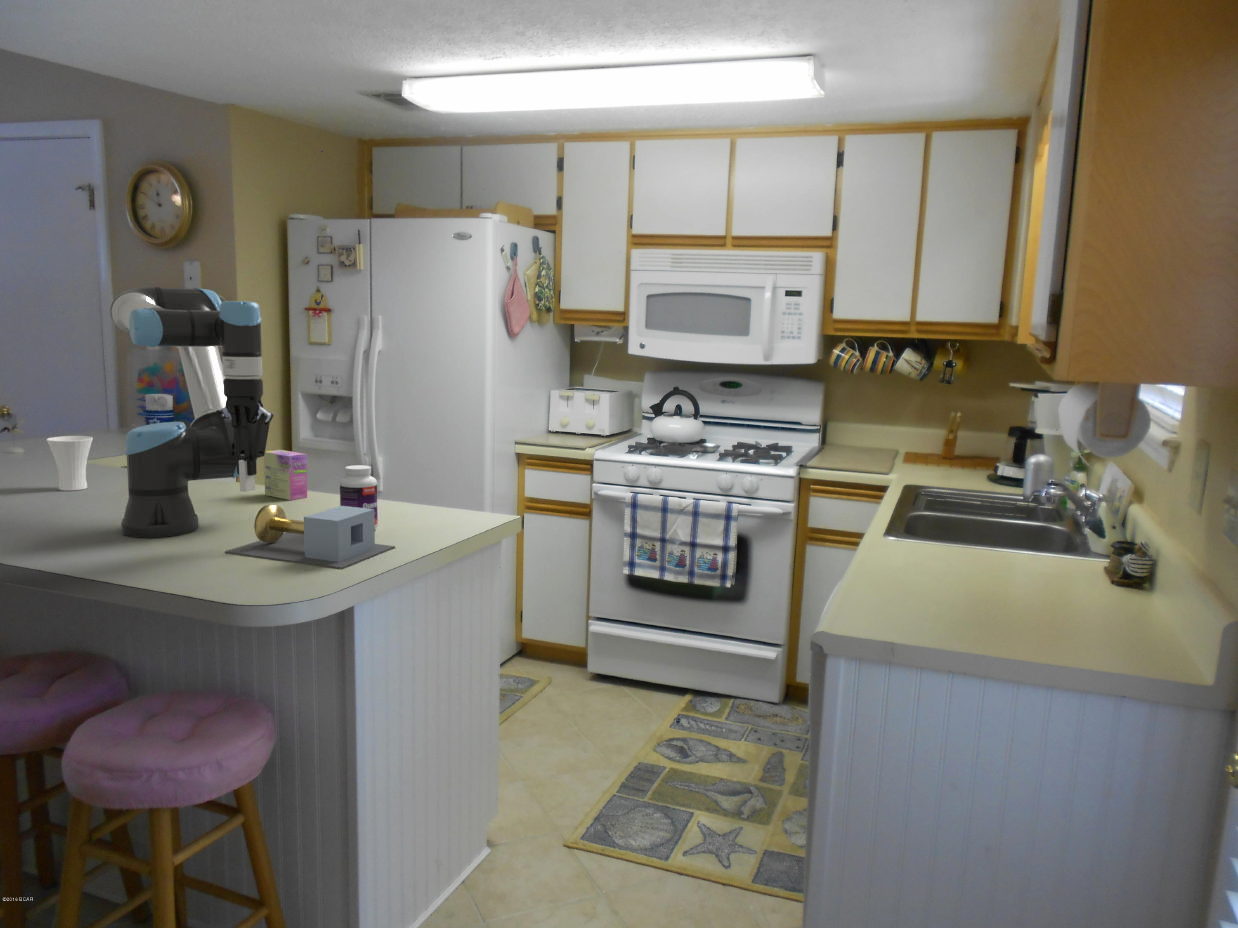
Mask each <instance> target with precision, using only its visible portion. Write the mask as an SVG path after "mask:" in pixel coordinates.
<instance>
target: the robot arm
mask: <svg viewBox="0 0 1238 928" xmlns="http://www.w3.org/2000/svg"><path fill="white" fill-rule="evenodd" d="M260 311H261V310H260V305H259V304H258V302H255V301H247V300H246V301H240V300H224V301H221V298H220V297H219V295H218V294H217V293H216V291H213V290H211V289H205V288H201V287H192V288H185V287H184V288H181V287H165V286H164V287H163V286H162V287H161V286H140V287H134V288H131V289H127V290H125V291H122V292H121V293H119V294H118V295H117V296H115V298H113V300H112V302H111V303H110V308H109V314H110V317H111V318H110V319H111V320H112V322H113V324H114V325H115V326H116V327H117V328H119V330H121V331H123V332H125V333H127V334H129V335H130V339H131V342H132V344H133V345H135V346H139V347H149V348H154V347H175V348H176V349H178V353H179V357H180V361H181V365H182V369H183V374H184V377H185V382H186V387H187V391H188V394H189V398H190V403H191V404H190V405H191V408H192V411H193V415H194V420H192V422H191V423H190V426H189V427H187V426H186V424H185V423H184V422H183V421H169V422H166V421H164V422H159V423H158V422H157V423H156V422H155V423H152V424H146V425H142V426H138V427H135V428H133V429H131V430H129V431H128V432H127V434H126V436H125V450H124V453H125V455H126V470H127V471H126V472H127V486H128V487H127V488H128V489H127V490H128V499H127V502H126V506H125V511H124V516H123V518H122V519H121V522H120V525H121V526H120V528H121V534H123V535H124V536H127V537H133V538H162V537H165V538H166V537H172V536H179V535H184V534H189V533H192V532H194V531H197V530H198V529H199V516H198V514H197V513H196V511H195V508H194V504H193V502H192V500H191V497H190V495H189V481H200V480H201V481H202V480H215V479H216V480H217V479H228V478H229V479H231V478H232V479H235V478H238V479H239V491H240V492H243V493H244V492H245V493H246V492H247V493H248V492H251V491H252V492H253V491H255V490H256V487H255V486H256V484H255V483H256V481H255V480H256V478H255V476H256V475H257V471H258V470H257V462H258V459H259V458H264V455H265V452H266V447H267V441H268V436H269V429H270V424H271V422H272V420H273V417H274V416H275V415H274V413H273V412H271V411H267V409H265V408H264V404H263V402H262V398H263V397H262V396H263V395H264V380H262V378H261V376H263V375H264V374H263V373H264V372H263V371H264V369H263V356H262V353H263V351H262V316H261V312H260ZM219 348H221V351H222V352H221V353H222V354H220V350H219ZM221 355H222V356H221ZM221 357H222V358H221Z"/></svg>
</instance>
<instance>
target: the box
mask: <svg viewBox="0 0 1238 928" xmlns="http://www.w3.org/2000/svg"><path fill="white" fill-rule="evenodd" d="M263 464H264V465H263V467H264V468H263V470H264V496H269V497H273V498H278V499H282V500H287V501H297V500H302V499H307V498H308V454H307V453H301V452H294V451H290V450H284V449H275V450H268V451H266V450H265V455H264V456H263Z"/></svg>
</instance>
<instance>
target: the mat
mask: <svg viewBox="0 0 1238 928" xmlns="http://www.w3.org/2000/svg"><path fill="white" fill-rule="evenodd" d="M393 549H396V546H395V545H389V544H388V545H387V544H381V543H380V544H379V543H375V548H373V549H371V550H368V551H366V552H363V553H361V554H358V555H355V556H353V557H350V558H348V559H345V560H342V561H340V562H336V561H328V560H321V559H314V558H306V557H305V545H304V535H302V534H294V533H286V532H284V533H283V535H282V536H281V538H280V539H279V540H278V541H276V542H273V543H269V542H263V541H260V540H257V541H253V542H250V543H247V544H244V545H240V546H237V547H235V548H231V549H227V550H225V551H224V553H226V554H230V555H231V554H232V555H240V556H245V557H253V558H260V559H269V560H274V561H282V562H287V563H288V562H290V563H294V564H295V563H297V564H305V565H310V566H316V567H317V566H318V567H326V568H332V569H339V570H343V569H345V568H348V567H350V566H353V565H356V564H358V563H361V562H364V561H366V560H368V559H371V558H373V557H376V556H378V555H380V554H383V553H385V552H388V551H390V550H393Z"/></svg>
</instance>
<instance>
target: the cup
mask: <svg viewBox="0 0 1238 928" xmlns="http://www.w3.org/2000/svg"><path fill="white" fill-rule="evenodd" d="M93 439H94V438H93V436H88V435H65V436H55V437H48V438H46V441H47V444H48V446H49V449H50V451H51V453H52V455H53V458H54V460H55V461H54V462H55V465H56V467H57V471H58V473H57V474H58V479H59V481H58V490H60V491H66V492H67V491H68V492H70V491H80V490H85V489H88V483H87V462H88V459H89V454H90V449H91V446H92V443H93Z"/></svg>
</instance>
